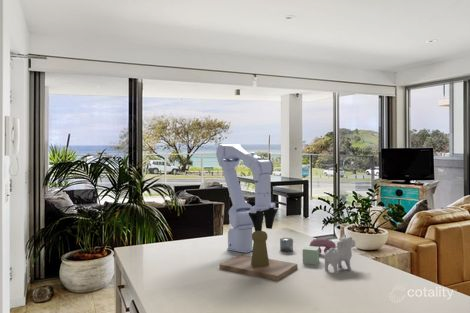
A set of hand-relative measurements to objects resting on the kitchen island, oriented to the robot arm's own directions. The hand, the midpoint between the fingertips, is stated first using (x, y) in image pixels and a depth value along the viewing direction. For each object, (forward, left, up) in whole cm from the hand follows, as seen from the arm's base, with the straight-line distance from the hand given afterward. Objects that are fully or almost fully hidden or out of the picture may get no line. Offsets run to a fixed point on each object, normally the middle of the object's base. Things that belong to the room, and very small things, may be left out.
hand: (263, 230), depth 136 cm
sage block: (+16, +5, -11) cm, 20 cm away
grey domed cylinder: (+2, +14, -10) cm, 18 cm away
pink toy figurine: (+16, +16, -11) cm, 25 cm away
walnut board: (+4, -11, -10) cm, 15 cm away
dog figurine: (+27, +3, -11) cm, 29 cm away
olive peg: (+4, -10, -9) cm, 14 cm away
